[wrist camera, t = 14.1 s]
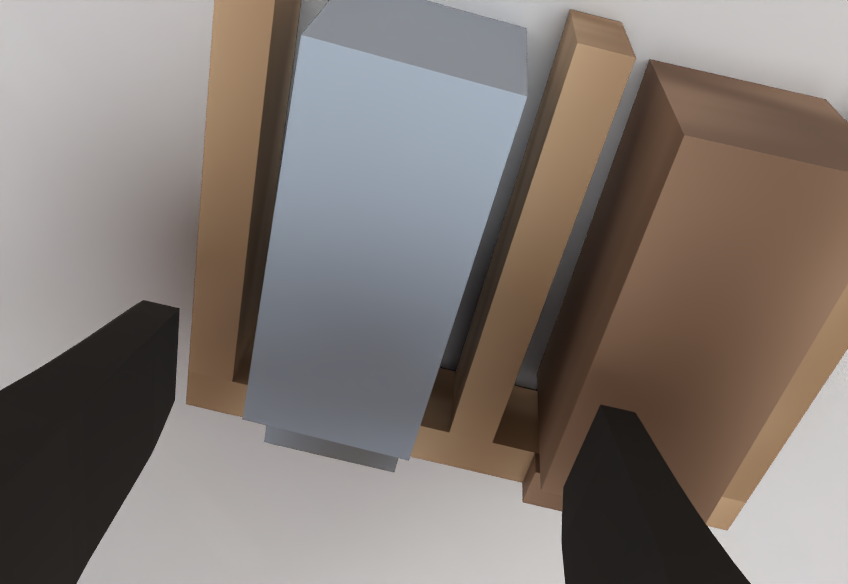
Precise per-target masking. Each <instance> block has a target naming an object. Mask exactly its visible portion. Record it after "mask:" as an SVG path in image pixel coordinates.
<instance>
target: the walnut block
mask: <svg viewBox="0 0 848 584" xmlns="http://www.w3.org/2000/svg"><path fill="white" fill-rule="evenodd" d="M847 284H848V123H847V122H846V120H845V119H844V118H843V117H842V116H841V115H840V114H839V113H838V112H837V111H836V110H835V109H834V108H833V107H832V106H831V104H830V103H829V102H828V101H827V100H826V99H821V98H817V97H813V96H808V95H804V94H800V93H795V92H791V91H786V90H782V89H778V88H773V87H769V86H765V85H760V84H756V83H752V82H747V81H743V80H738V79H734V78H730V77H725V76H721V75H717V74H712V73H708V72H703V71H699V70H695V69H690V68H686V67H682V66H677V65H673V64H669V63H664V62H660V61H655V60H651V59H650V60H649V63H648V65H647V68H646V71H645V74H644V77H643V79H642V82H641V85H640V88H639V91H638V93H637V96H636V99H635V102H634V104H633V107H632V110H631V113H630V116H629V118H628V121H627V124H626V127H625V130H624V132H623V135H622V138H621V141H620V144H619V146H618V149H617V152H616V155H615V158H614V160H613V163H612V166H611V169H610V172H609V174H608V177H607V180H606V183H605V186H604V188H603V191H602V194H601V197H600V200H599V202H598V205H597V208H596V211H595V213H594V216H593V219H592V222H591V225H590V227H589V230H588V233H587V236H586V239H585V241H584V244H583V247H582V250H581V253H580V255H579V258H578V261H577V264H576V267H575V269H574V272H573V275H572V278H571V281H570V283H569V286H568V289H567V292H566V295H565V297H564V300H563V303H562V306H561V309H560V311H559V314H558V317H557V320H556V323H555V325H554V328H553V331H552V334H551V336H550V339H549V342H548V345H547V348H546V350H545V353H544V356H543V359H542V362H541V364H540V367H539V370H538V373H537V391H538V422H539V454H540V486H541V491H543V492H548V493H553V494H557V495H562V496H563V487H564V484H565V482H566V480H567V478H568V476H569V473H570V471H571V469H572V467H573V464H574V462H575V460H576V458H577V455H578V453H579V451H580V449H581V446H582V444H583V442H584V440H585V438H586V435H587V433H588V431H589V429H590V426H591V424H592V422H593V420H594V417H595V415H596V413H597V411H598V408H599V406H600V404H601V405H606V406H610V407H614V408H619V409H623V410H627V411H632V412H635V413H636V414H637V416H638V417H639V419H640V421H641V422H642V424H643V425H644V427H645V429H646V430H647V432H648V434H649V435H650V437H651V439H652V440H653V442H654V444H655V445H656V447H657V449H658V450H659V452H660V454H661V455H662V457H663V459H664V460H665V462H666V463H667V465H668V467H669V468H670V470H671V472H672V473H673V475H674V476H675V478H676V480H677V481H678V483H679V484H680V486H681V487H682V489H683V491H684V492H685V494H686V495H687V497H688V498H689V500H690V501H691V503H692V504H693V506H694V507H695V509H696V510H697V512H698V513H699V515H700V516H701V518H702V519H703V521H704V522H705V523H706V522H707V521H708V519H709V517H710V516H711V514H712V512H713V511H714V509H715V507H716V506H717V504H718V502H719V501H720V499H721V497H722V495H723V494H724V492H725V490H726V489H727V487H728V485H729V484H730V482H731V480H732V479H733V477H734V475H735V474H736V472H737V470H738V468H739V467H740V465H741V463H742V462H743V460H744V458H745V457H746V455H747V453H748V452H749V450H750V448H751V447H752V445H753V443H754V441H755V440H756V438H757V436H758V435H759V433H760V431H761V430H762V428H763V426H764V425H765V423H766V421H767V420H768V418H769V416H770V414H771V413H772V411H773V409H774V408H775V406H776V404H777V403H778V401H779V399H780V398H781V396H782V394H783V393H784V391H785V389H786V387H787V386H788V384H789V382H790V381H791V379H792V377H793V376H794V374H795V372H796V371H797V369H798V367H799V365H800V364H801V362H802V360H803V359H804V357H805V355H806V354H807V352H808V350H809V349H810V347H811V345H812V344H813V342H814V340H815V338H816V337H817V335H818V333H819V332H820V330H821V328H822V327H823V325H824V323H825V322H826V320H827V318H828V317H829V315H830V313H831V311H832V310H833V308H834V306H835V305H836V303H837V301H838V300H839V298H840V296H841V295H842V293H843V291H844V290H845V288H846V286H847Z"/></svg>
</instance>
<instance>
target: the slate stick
mask: <svg viewBox="0 0 848 584" xmlns="http://www.w3.org/2000/svg"><path fill="white" fill-rule="evenodd" d="M527 97H528V96H527V45H526V28H524V27H520V26H516V25H513V24H509V23H506V22H502V21H498V20H495V19H491V18H487V17H484V16H480V15H477V14H473V13H469V12H466V11H462V10H459V9H455V8H451V7H448V6H444V5H440V4H437V3H433V2H430V1H426V0H330V1H329V2H328V3H327V4H326V6H325V7H324V8H323V9H322V10H321V12H320V13H319V14H318V15H317V16H316V18H315V19H314V20H313V21H312V22H311V24H310V25H309V26H308V27H307V28H306V30H305V31H304V32H303V33H302V34H301V39H300V46H299V52H298V59H297V65H296V72H295V78H294V85H293V92H292V98H291V105H290V111H289V118H288V124H287V131H286V137H285V144H284V151H283V157H282V164H281V170H280V177H279V183H278V190H277V197H276V203H275V210H274V216H273V223H272V229H271V236H270V242H269V249H268V256H267V262H266V269H265V275H264V282H263V288H262V295H261V301H260V308H259V315H258V321H257V328H256V334H255V341H254V347H253V354H252V360H251V367H250V374H249V380H248V387H247V393H246V400H245V406H244V413H243V419H244V420H248V421H252V422H256V423H260V424H264V425H268V426H272V427H276V428H280V429H284V430H288V431H292V432H296V433H300V434H304V435H308V436H312V437H316V438H320V439H324V440H328V441H332V442H336V443H340V444H344V445H348V446H352V447H356V448H360V449H364V450H368V451H373V452H377V453H381V454H385V455H389V456H393V457H397V458H401V459H405V460H409V459H410V456H411V452H412V449H413V446H414V443H415V440H416V437H417V434H418V431H419V428H420V425H421V422H422V419H423V416H424V413H425V410H426V406H427V403H428V400H429V397H430V394H431V391H432V388H433V385H434V382H435V379H436V376H437V373H438V370H439V367H440V364H441V360H442V357H443V354H444V351H445V348H446V345H447V342H448V339H449V336H450V333H451V330H452V327H453V324H454V321H455V317H456V314H457V311H458V308H459V305H460V302H461V299H462V296H463V293H464V290H465V287H466V284H467V281H468V278H469V275H470V271H471V268H472V265H473V262H474V259H475V256H476V253H477V250H478V247H479V244H480V241H481V238H482V235H483V232H484V228H485V225H486V222H487V219H488V216H489V213H490V210H491V207H492V204H493V201H494V198H495V195H496V192H497V189H498V186H499V182H500V179H501V176H502V173H503V170H504V167H505V164H506V161H507V158H508V155H509V152H510V149H511V146H512V143H513V140H514V136H515V133H516V130H517V127H518V124H519V121H520V118H521V115H522V112H523V109H524V106H525V103H526V100H527Z"/></svg>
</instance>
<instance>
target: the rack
mask: <svg viewBox="0 0 848 584" xmlns="http://www.w3.org/2000/svg"><path fill="white" fill-rule="evenodd" d="M300 5H301V0H214V14H213V28H212V42H211V56H210V71H209V85H208V99H207V113H206V127H205V142H204V156H203V170H202V184H201V198H200V213H199V227H198V241H197V255H196V269H195V284H194V298H193V312H192V326H191V340H190V354H189V369H188V383H187V397H186V404H188V405H192V406H196V407H201V408H205V409H209V410H214V411H218V412H222V413H226V414H231V415H235V416H239V417H243V413H244V406H245V400H246V393H247V387H248V380H249V374H250V367H251V360H252V354H253V347H254V341H255V334H256V328H257V321H258V315H259V308H260V301H261V295H262V288H263V282H264V275H265V269H266V262H267V256H268V249H269V242H270V236H271V229H272V221H273V213H274V205H275V198H276V190H277V182H278V175H279V167H280V159H281V151H282V144H283V136H284V128H285V121H286V113H287V105H288V98H289V90H290V82H291V74H292V67H293V59H294V51H295V44H296V36H297V28H298V20H299V13H300ZM635 59H636V56H635V54H634V51H633V49H632V47H631V44H630V42H629V39H628V37H627V34H626V32H625V29H624V27H623V24H622V23H621V22H617V21H613V20H609V19H606V18H602V17H598V16H594V15H590V14H586V13H582V12H578V11H574V10H570V12H569V15H568V18H567V21H566V24H565V28H564V31H563V34H562V37H561V40H560V43H559V47H558V50H557V53H556V56H555V59H554V62H553V66H552V69H551V72H550V75H549V78H548V81H547V85H546V88H545V91H544V94H543V97H542V100H541V104H540V107H539V110H538V113H537V116H536V119H535V123H534V126H533V129H532V132H531V135H530V138H529V142H528V145H527V148H526V151H525V154H524V157H523V161H522V164H521V167H520V170H519V173H518V176H517V180H516V183H515V186H514V189H513V192H512V195H511V199H510V202H509V205H508V208H507V211H506V214H505V218H504V221H503V224H502V227H501V230H500V233H499V237H498V240H497V243H496V246H495V249H494V252H493V256H492V259H491V262H490V265H489V268H488V271H487V275H486V278H485V281H484V284H483V287H482V290H481V294H480V297H479V300H478V303H477V306H476V309H475V313H474V316H473V319H472V322H471V325H470V328H469V332H468V335H467V338H466V341H465V344H464V347H463V351H462V354H461V357H460V360H459V363H458V366H457V370H456V372H455V371H451V370H447V369H442V368H439V370H438V373H437V376H436V379H435V382H434V385H433V388H432V391H431V394H430V397H429V400H428V403H427V406H426V410H425V413H424V416H423V419H422V422H421V425H420V428H419V431H418V434H417V437H416V440H415V443H414V446H413V449H412V452H411V457H415V458H419V459H424V460H428V461H432V462H436V463H441V464H445V465H449V466H454V467H458V468H462V469H466V470H471V471H475V472H479V473H484V474H488V475H492V476H496V477H501V478H505V479H509V480H514V481H518V482H522V484H523V502H524V503H528V504H533V505H537V506H541V507H545V508H550V509H554V510H558V511H562V506H563V496H562V495H557V494H553V493H548V492H543V491H541V486H540V454H539V422H538V391H535V390H531V389H527V388H522V387H518V386H514V383H515V381H516V378H517V375H518V373H519V370H520V367H521V365H522V362H523V359H524V356H525V354H526V351H527V348H528V346H529V343H530V340H531V338H532V335H533V332H534V330H535V327H536V324H537V322H538V319H539V316H540V314H541V311H542V308H543V306H544V303H545V300H546V298H547V295H548V292H549V290H550V287H551V284H552V282H553V279H554V276H555V273H556V271H557V268H558V265H559V263H560V260H561V257H562V255H563V252H564V249H565V247H566V244H567V241H568V239H569V236H570V233H571V231H572V228H573V225H574V223H575V220H576V217H577V215H578V212H579V209H580V207H581V204H582V201H583V199H584V196H585V193H586V191H587V188H588V185H589V182H590V180H591V177H592V174H593V172H594V169H595V166H596V164H597V161H598V158H599V156H600V153H601V150H602V148H603V145H604V142H605V140H606V137H607V134H608V132H609V129H610V126H611V124H612V121H613V118H614V116H615V113H616V110H617V108H618V105H619V102H620V99H621V97H622V94H623V91H624V89H625V86H626V83H627V81H628V78H629V75H630V73H631V70H632V67H633V65H634V62H635ZM847 349H848V284H847V286H846V288H845V290H844V291H843V293H842V295H841V296H840V298H839V300H838V301H837V303H836V305H835V306H834V308H833V310H832V311H831V313H830V315H829V317H828V318H827V320H826V322H825V323H824V325H823V327H822V328H821V330H820V332H819V333H818V335H817V337H816V338H815V340H814V342H813V344H812V345H811V347H810V349H809V350H808V352H807V354H806V355H805V357H804V359H803V360H802V362H801V364H800V365H799V367H798V369H797V371H796V372H795V374H794V376H793V377H792V379H791V381H790V382H789V384H788V386H787V387H786V389H785V391H784V393H783V394H782V396H781V398H780V399H779V401H778V403H777V404H776V406H775V408H774V409H773V411H772V413H771V414H770V416H769V418H768V420H767V421H766V423H765V425H764V426H763V428H762V430H761V431H760V433H759V435H758V436H757V438H756V440H755V441H754V443H753V445H752V447H751V448H750V450H749V452H748V453H747V455H746V457H745V458H744V460H743V462H742V463H741V465H740V467H739V468H738V470H737V472H736V474H735V475H734V477H733V479H732V480H731V482H730V484H729V485H728V487H727V489H726V490H725V492H724V494H723V495H722V497H721V499H720V501H719V502H718V504H717V506H716V507H715V509H714V511H713V512H712V514H711V516H710V517H709V519H708V521H707V522H706V525H707V526H711V527H715V528H719V529H723V530H728V529H729V527H730V526H731V524H732V523H733V521H734V520H735V518H736V517H737V515H738V514H739V512H740V511H741V509H742V508H743V506H744V505H745V503H746V502H747V500H748V499H749V497H750V496H751V494H752V493H753V491H754V490H755V488H756V487H757V485H758V484H759V482H760V480H761V479H762V477H763V476H764V474H765V473H766V471H767V470H768V468H769V467H770V465H771V464H772V462H773V461H774V459H775V458H776V456H777V455H778V453H779V452H780V450H781V449H782V447H783V446H784V444H785V443H786V441H787V440H788V438H789V437H790V435H791V434H792V432H793V431H794V429H795V428H796V426H797V425H798V423H799V422H800V420H801V418H802V417H803V415H804V414H805V412H806V411H807V409H808V408H809V406H810V405H811V403H812V402H813V400H814V399H815V397H816V396H817V394H818V393H819V391H820V390H821V388H822V387H823V385H824V384H825V382H826V381H827V379H828V378H829V376H830V375H831V373H832V372H833V370H834V369H835V367H836V366H837V364H838V363H839V361H840V359H841V358H842V356H843V355H844V353H845V352H846V350H847ZM264 442H266V443H270V444H274V445H279V446H283V447H287V448H292V449H296V450H300V451H305V452H309V453H313V454H317V455H322V456H326V457H330V458H335V459H339V460H343V461H348V462H352V463H356V464H361V465H365V466H369V467H373V468H378V469H382V470H386V471H391V472H394V471H395V468H396V464H397V461H398V458H397V457H393V456H389V455H385V454H381V453H377V452H373V451H368V450H364V449H360V448H356V447H352V446H348V445H344V444H340V443H336V442H332V441H328V440H324V439H320V438H316V437H312V436H308V435H304V434H300V433H296V432H292V431H288V430H284V429H280V428H276V427H272V426H268V425H267V427H266V433H265V440H264Z"/></svg>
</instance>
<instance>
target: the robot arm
mask: <svg viewBox="0 0 848 584" xmlns="http://www.w3.org/2000/svg"><path fill="white" fill-rule="evenodd" d="M179 310H180V308H175V307H171V306H167V305H162V304H158V303H153V302H149V301H145V300H143V301H141V302H140V303H138V304H136V305H135V306H133V307H132V308H130V309H129V310H127V311H126V312H124V313H123V314H121V315H120V316H118V317H117V318H115V319H114V320H112V321H111V322H109V323H108V324H106V325H105V326H104V327H102V328H101V329H99V330H98V331H96V332H95V333H93V334H92V335H90V336H89V337H87V338H86V339H84V340H83V341H81V342H80V343H78V344H77V345H75V346H73V347H72V348H70V349H69V350H67V351H66V352H64V353H62V354H61V355H59V356H58V357H56V358H55V359H53V360H51V361H50V362H48V363H47V364H45V365H43V366H42V367H40V368H39V369H37V370H35V371H34V372H32V373H30V374H28V375H27V376H25V377H23V378H21V379H20V380H18V381H16V382H14V383H13V384H11V385H9V386H7V387H6V388H4V389H2V390H0V584H76V583H77V581H78V580H79V578H80V576H81V574H82V572H83V570H84V568H85V567H86V565H87V563H88V561H89V559H90V558H91V556H92V554H93V553H94V551H95V549H96V548H97V546H98V544H99V543H100V541H101V539H102V537H103V536H104V534H105V532H106V531H107V529H108V527H109V526H110V524H111V522H112V521H113V519H114V517H115V516H116V514H117V512H118V510H119V509H120V507H121V505H122V504H123V502H124V500H125V499H126V497H127V495H128V494H129V492H130V490H131V489H132V487H133V485H134V483H135V482H136V480H137V478H138V477H139V475H140V473H141V471H142V470H143V468H144V466H145V465H146V463H147V461H148V459H149V458H150V456H151V454H152V452H153V450H154V448H155V446H156V443H157V441H158V439H159V437H160V434H161V432H162V430H163V427H164V425H165V423H166V420H167V418H168V415H169V413H170V411H171V408H172V406H173V403H174V401H175V387H176V368H177V348H178V329H179ZM562 553H563V564H564V575H565V584H751V583H750V582H749V581H748V580H747V579H746V577H745V576H744V575H743V574H742V572H741V571H740V570H739V568H738V567H737V566H736V565H735V563H734V562H733V561H732V559H731V558H730V557H729V555H728V554H727V553H726V551H725V550H724V548H723V547H722V546H721V544H720V543H719V542H718V540H717V539H716V538H715V536H714V535H713V534H712V532H711V531H710V529H709V528H708V526H707V525H706V523H705V522H704V521H703V519H702V518H701V516H700V515H699V513H698V512H697V510H696V509H695V507H694V506H693V504H692V503H691V501H690V500H689V498H688V497H687V495H686V494H685V492H684V491H683V489H682V487H681V486H680V484H679V483H678V481H677V480H676V478H675V476H674V475H673V473H672V472H671V470H670V468H669V467H668V465H667V463H666V462H665V460H664V459H663V457H662V455H661V454H660V452H659V450H658V449H657V447H656V445H655V444H654V442H653V440H652V439H651V437H650V435H649V434H648V432H647V430H646V429H645V427H644V425H643V424H642V422H641V421H640V419H639V417H638V416H637V414H636V413H635V412H632V411H627V410H623V409H619V408H614V407H610V406H606V405H601V404H600V406H599V408H598V411H597V413H596V415H595V417H594V420H593V422H592V424H591V426H590V429H589V431H588V433H587V435H586V438H585V440H584V442H583V444H582V446H581V449H580V451H579V453H578V455H577V458H576V460H575V462H574V464H573V467H572V469H571V471H570V473H569V476H568V478H567V480H566V482H565V484H564V487H563V506H562Z"/></svg>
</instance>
